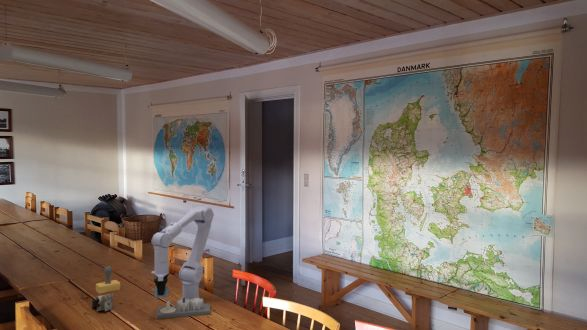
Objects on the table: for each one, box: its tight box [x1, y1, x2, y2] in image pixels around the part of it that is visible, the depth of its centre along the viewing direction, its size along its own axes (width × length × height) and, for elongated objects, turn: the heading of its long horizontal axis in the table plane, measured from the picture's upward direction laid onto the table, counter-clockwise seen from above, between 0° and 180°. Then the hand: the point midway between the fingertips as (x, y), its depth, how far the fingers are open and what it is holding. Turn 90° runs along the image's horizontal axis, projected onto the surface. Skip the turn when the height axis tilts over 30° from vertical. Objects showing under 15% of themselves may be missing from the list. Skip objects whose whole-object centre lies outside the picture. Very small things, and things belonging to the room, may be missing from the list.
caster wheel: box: [91, 292, 114, 312], centre depth 187 cm, size 7×11×10 cm
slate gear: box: [153, 285, 170, 299], centre depth 181 cm, size 6×6×4 cm
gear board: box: [155, 297, 211, 320], centre depth 184 cm, size 9×22×7 cm, turn 105°
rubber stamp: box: [95, 266, 121, 295], centre depth 209 cm, size 10×6×12 cm, turn 133°
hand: (161, 292), depth 181 cm, fingers closed on slate gear, 6 cm apart
